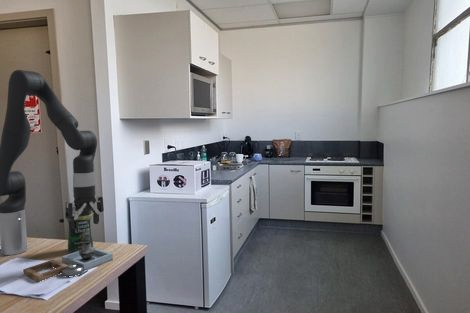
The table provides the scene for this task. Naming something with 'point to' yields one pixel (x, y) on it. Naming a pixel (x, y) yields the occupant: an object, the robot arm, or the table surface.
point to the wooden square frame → (33, 271)
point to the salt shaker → (86, 248)
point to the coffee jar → (79, 231)
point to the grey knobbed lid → (72, 270)
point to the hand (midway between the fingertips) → (85, 226)
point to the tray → (99, 259)
